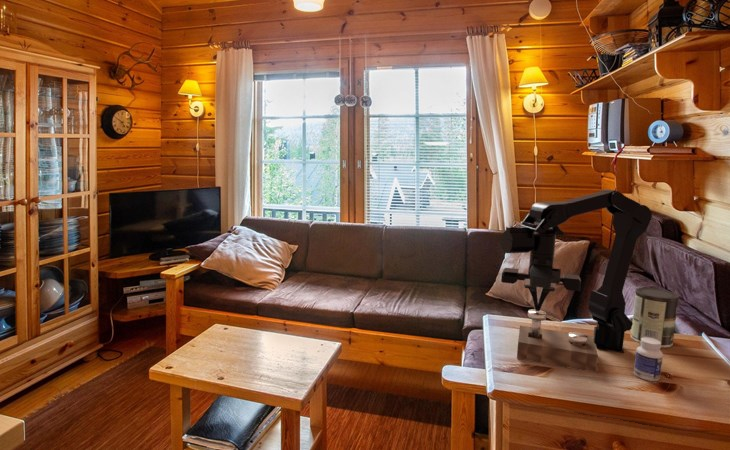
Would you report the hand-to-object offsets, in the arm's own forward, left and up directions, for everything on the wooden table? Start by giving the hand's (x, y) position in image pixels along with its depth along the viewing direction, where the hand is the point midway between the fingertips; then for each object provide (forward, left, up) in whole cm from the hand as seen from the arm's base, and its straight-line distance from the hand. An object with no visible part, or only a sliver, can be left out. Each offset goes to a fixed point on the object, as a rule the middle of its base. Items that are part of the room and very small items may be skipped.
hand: (537, 310), depth 112 cm
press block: (-5, 0, -11) cm, 12 cm away
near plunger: (-10, 0, -11) cm, 15 cm away
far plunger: (0, 0, -7) cm, 7 cm away
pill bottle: (-25, +3, -12) cm, 28 cm away
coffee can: (-31, -22, -12) cm, 40 cm away
